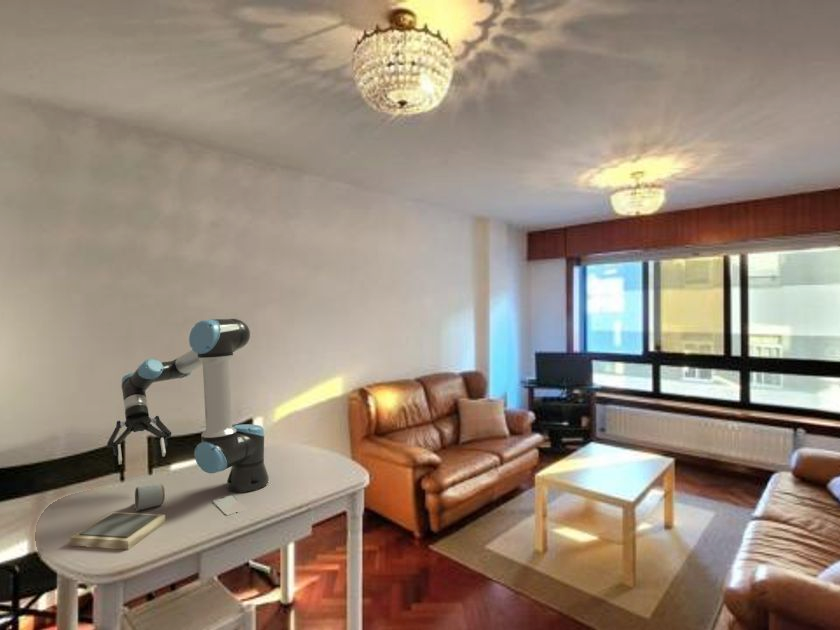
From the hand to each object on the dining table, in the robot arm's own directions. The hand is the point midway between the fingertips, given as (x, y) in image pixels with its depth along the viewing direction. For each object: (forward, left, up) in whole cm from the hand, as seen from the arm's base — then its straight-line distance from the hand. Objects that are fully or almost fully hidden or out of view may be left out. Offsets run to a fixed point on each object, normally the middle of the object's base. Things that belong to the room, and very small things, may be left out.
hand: (142, 458), depth 163 cm
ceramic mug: (-7, +6, -14) cm, 17 cm away
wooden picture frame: (-11, +25, -14) cm, 31 cm away
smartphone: (-34, +3, -15) cm, 37 cm away
